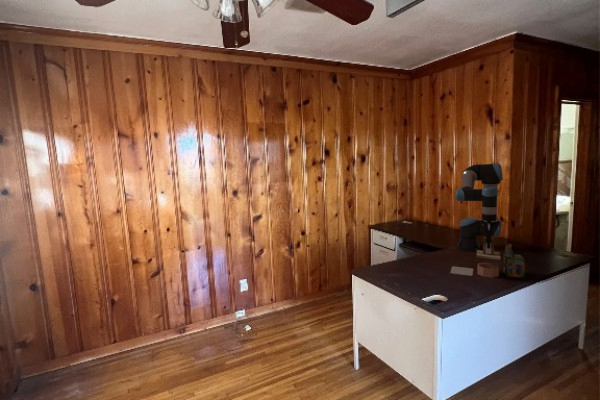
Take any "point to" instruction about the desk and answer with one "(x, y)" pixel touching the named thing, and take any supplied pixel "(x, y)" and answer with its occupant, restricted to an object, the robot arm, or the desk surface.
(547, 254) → the desk surface
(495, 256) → the tan wooden stand
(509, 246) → the ruin model on sheet
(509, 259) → the green labelled jug
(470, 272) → the mat
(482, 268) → the bowl
